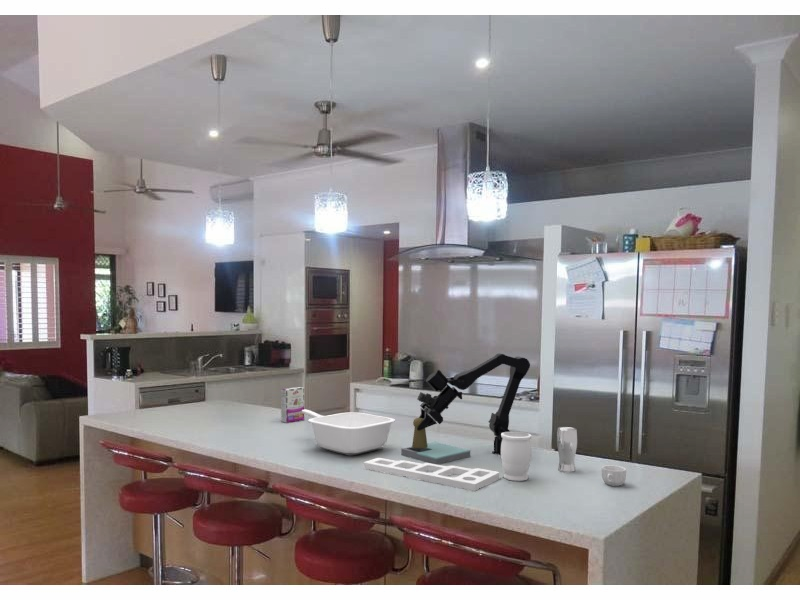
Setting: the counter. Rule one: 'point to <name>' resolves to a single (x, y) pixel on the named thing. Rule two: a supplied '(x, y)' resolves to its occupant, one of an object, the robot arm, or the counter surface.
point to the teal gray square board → (436, 453)
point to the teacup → (613, 475)
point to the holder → (435, 473)
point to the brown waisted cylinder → (419, 435)
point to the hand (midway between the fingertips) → (416, 428)
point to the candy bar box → (292, 404)
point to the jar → (516, 455)
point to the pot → (350, 431)
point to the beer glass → (566, 448)
